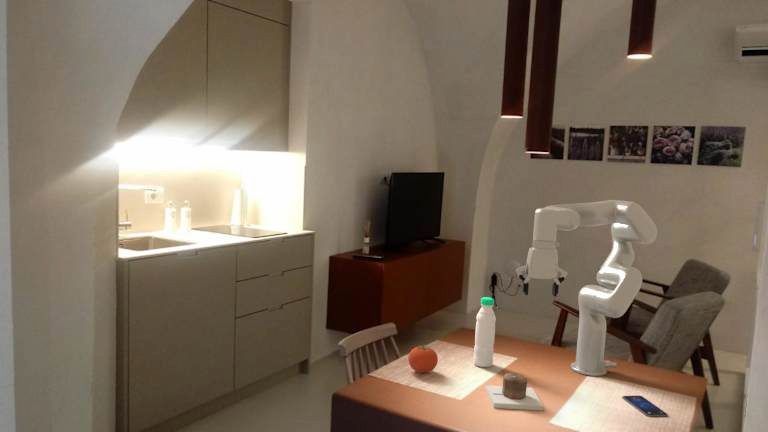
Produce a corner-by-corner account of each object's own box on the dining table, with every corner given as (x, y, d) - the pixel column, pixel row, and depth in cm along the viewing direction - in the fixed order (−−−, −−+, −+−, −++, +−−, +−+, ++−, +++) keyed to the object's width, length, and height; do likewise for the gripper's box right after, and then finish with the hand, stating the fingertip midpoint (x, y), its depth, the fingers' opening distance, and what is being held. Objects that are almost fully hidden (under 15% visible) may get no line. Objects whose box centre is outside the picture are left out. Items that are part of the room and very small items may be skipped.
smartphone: (647, 415, 179) (620, 395, 193) (647, 418, 179) (620, 398, 193) (670, 414, 180) (641, 395, 194) (669, 418, 180) (641, 397, 195)
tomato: (435, 367, 211) (437, 340, 210) (437, 378, 201) (439, 350, 200) (407, 366, 211) (408, 339, 210) (407, 376, 201) (409, 348, 200)
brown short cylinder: (522, 391, 190) (523, 373, 189) (527, 400, 183) (529, 381, 182) (500, 389, 190) (502, 372, 189) (505, 398, 183) (506, 380, 182)
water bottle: (469, 362, 219) (474, 296, 216) (485, 360, 222) (490, 295, 219) (480, 369, 213) (485, 300, 210) (496, 367, 216) (501, 299, 213)
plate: (531, 392, 193) (532, 375, 193) (542, 410, 179) (544, 392, 179) (485, 389, 193) (486, 373, 193) (493, 407, 179) (494, 390, 179)
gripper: (566, 244, 202) (562, 293, 204) (515, 242, 202) (512, 291, 204) (573, 248, 195) (568, 298, 197) (520, 245, 195) (516, 296, 197)
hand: (539, 294), depth 200 cm, fingers open, 9 cm apart
